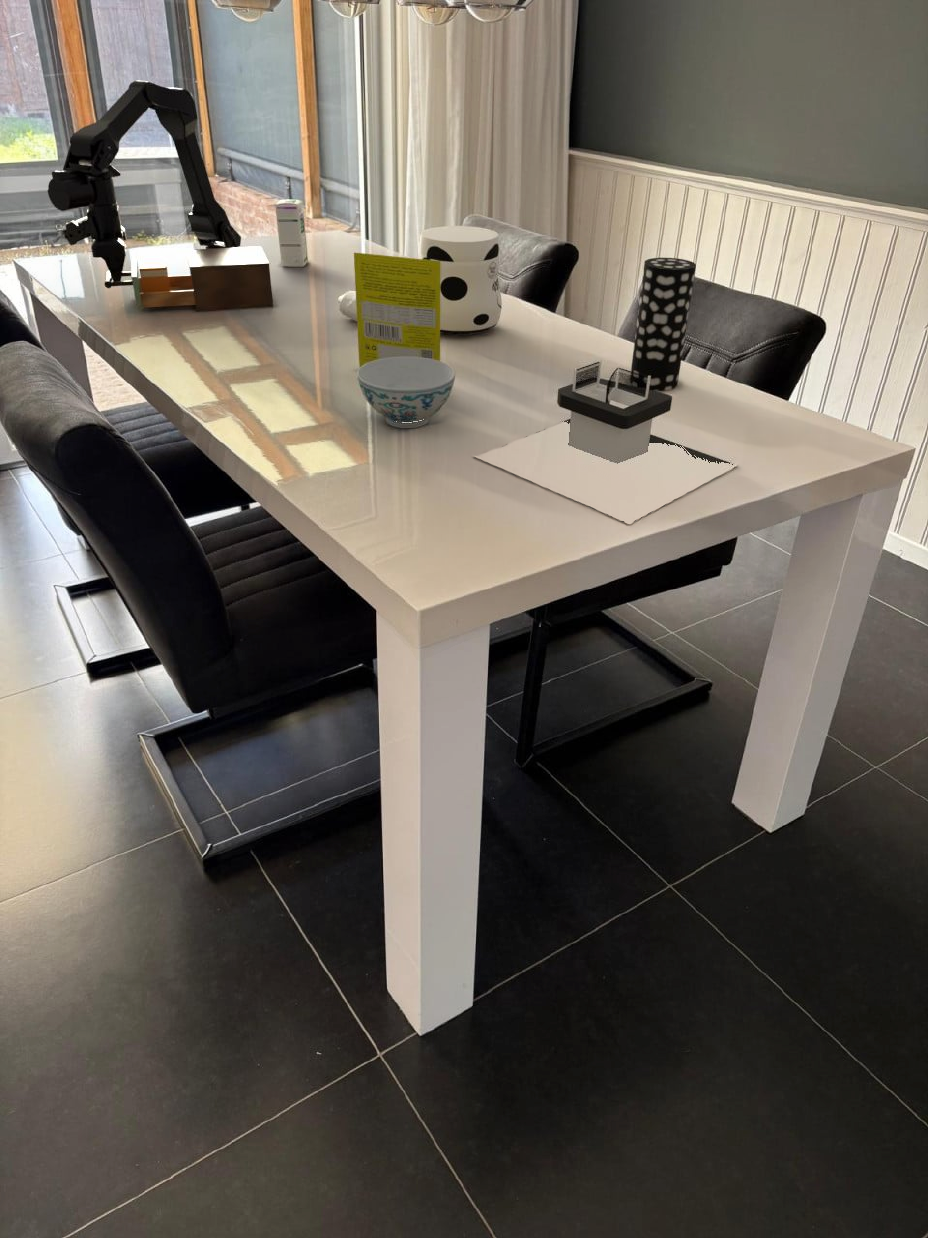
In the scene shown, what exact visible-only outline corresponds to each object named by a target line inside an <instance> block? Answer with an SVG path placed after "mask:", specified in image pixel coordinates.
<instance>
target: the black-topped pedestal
mask: <svg viewBox="0 0 928 1238" xmlns="http://www.w3.org/2000/svg"><path fill="white" fill-rule="evenodd" d="M602 363H603V361H602V360H599V361H597V362H594V363H591V364H588V365H585V366H582V367H578V368H576V367H575V368H573V369H574V370H573V377H572V378H573V381H572V383H571V384H568V385H565V386H562V387H560V388H558V389H557V396H556V397H557V399H556V403H557V406H558V407H559V408H562V409H565V410H567V411H570V418H568V419H566V420H563V421H564V422H567V421H568V422H567V423H568V424H569V423H570V432H569V443H568V445H569V446H572V447H574V448H576V449H579V450H582V451H584V452H587V453H590V454H592V455H595V456H598V457H601V458H603V459H606V460H609V461H610V462H614V463H617V464H618V463H620V462H623V461H626V460H628V459H631V458H634V457H636V456H639V455H642V454H644V453H646V452H648V446H649V443H662V444H664V443H666V444H667V445H668V444H670V445H675V444H676V445H677V446H678V447H680V446H681V447H682V446H683V447H684V448H685V449H686V450H687V451H688V452H689V453H690V454H691V455H692V457H694V458H695V459H696V457H697V458H698V457H699V458H701V459H702V460H704V459H705V461H706V459H707V460H708V462H709V461H710V462H715V463H716V461H717V463H718V464H719V462H720V463H721V462H724V463H729V464H730V463H731V462H730V461H727V460H724V459H721V458H719V457H716V456H713V455H710V454H707V453H704V452H702V451H699V450H697V449H693V448H691V447H687V446H685V445H682V444H679V443H677V442H673V441H672V440H671V441H670V440H668V439H666V438H662V437H660V436H657V435H654V434H652V433H651V432H652V426H653V425H652V424H653V419H655V418H657V417H660V416H661V415H664V414H666V413H669V412H670V411H671V408H672V402H673V396H672V395H670V394H666V393H664V392H662V391H653V390H649V385H650V378H651V376H644V375H641V374H638V373H635V372H631V370H628V369H625V368H622V367H621V366H620V365H619V366H617V368H616V369H615V370H614V371H613V372H612V374H611V375H610V377H609V379H605V378H602V377H601V373H602ZM631 373H634V374H635V375H636V377H634V376H632V375H631ZM638 375H640V376H641V377H642V378H643V379H642V380H641V379H640V378H639V377H638ZM631 376H632V377H633V378H634V380H635V382H636V384H637V385H638V387H637V386H636V384H635V383H634V381H633V379H632V378H631ZM644 377H646V378H647V379H648V380H645V379H644ZM635 378H636V379H635ZM638 378H639V380H640V381H641V383H642V385H643V387H644V388H645V389H644V388H643V387H642V386H641V384H640V382H639V380H638ZM630 379H631V380H630ZM644 380H645V381H646V383H647V385H646V384H645V382H644ZM642 381H643V382H642ZM638 383H639V384H638ZM643 383H644V384H643ZM633 384H634V385H633ZM639 385H640V386H639ZM611 401H612V402H615V403H618V404H621V405H624V406H626V407H624V408H622V407H620V406H616V405H614V404H612V403H610V402H611ZM676 445H675V446H676ZM668 446H669V445H668ZM681 447H680V448H681ZM683 447H682V448H683ZM684 448H683V449H684ZM685 449H684V451H686V450H685ZM687 451H686V453H687ZM687 454H688V453H687ZM688 455H689V454H688ZM694 455H695V456H696V457H695V456H694ZM703 458H704V459H703ZM710 462H709V463H710ZM733 464H734V463H733ZM733 464H732V465H733Z"/></svg>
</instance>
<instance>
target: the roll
mask: <svg viewBox="0 0 928 1238" xmlns="http://www.w3.org/2000/svg"><path fill="white" fill-rule="evenodd" d="M337 302H338V303H339V311H340V313H341V314H343V316H345V317H347V318H349V319H351V320H352V321H355V322H356V323H357V307H356V290H349V291H346V292H345V293H344V294H341V295H340V296H339V297H338V300H337Z"/></svg>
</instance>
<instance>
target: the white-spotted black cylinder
mask: <svg viewBox="0 0 928 1238" xmlns="http://www.w3.org/2000/svg"><path fill="white" fill-rule="evenodd" d="M696 269H697V264H696V263H695V262H694V261H691V260H688V259H684V258H675V257H653V258H648V259H646V260H644V262H643V271H642V279H641V287H640V296H639V303H638V312H637V320H636V327H635V328H636V329H635V336H634V343H633V351H632V360H631V367H630V371H631V372H635V373H638V374H641V375H644V376H651V378H650V385H649V390H653V391H657V392H663V391H664V392H665V391H670V390H673V389H675V388H677V387H678V383H679V377H680V371H681V366H682V358H683V351H684V347H685V345H684V344H685V338H686V333H687V326H688V321H689V313H690V307H691V300H692V294H693V288H694V281H695V275H696ZM631 375H632V376H634V377H636V375H635V374H634V373H631ZM632 376H631V378H632V379H633V381H634V383H635V384H636V382H635V380H634V378H633V377H632ZM638 377H639V378H640V379H641V380H642V379H643V378H642V377H641V376H640V375H638ZM639 378H638V380H639ZM635 379H636V378H635ZM644 379H645V380H648V379H647V378H646V377H644ZM630 380H631V379H630ZM645 380H644V382H645V384H646V385H647V383H646V381H645ZM639 382H640V384H641V386H642V387H643V385H642V383H641V381H640V380H639ZM642 382H643V381H642ZM638 384H639V383H638ZM643 384H644V383H643ZM633 385H634V384H633ZM636 386H637V387H638V385H637V384H636ZM639 386H640V385H639ZM643 388H644V387H643ZM644 389H645V388H644Z"/></svg>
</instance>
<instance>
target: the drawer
mask: <svg viewBox="0 0 928 1238" xmlns="http://www.w3.org/2000/svg"><path fill="white" fill-rule="evenodd" d="M122 277H131V280H121V281H113V279H112V277H111V274H110V272H109V270H107V271H105V275H104V283H103V286H104V287H105V288H107V289H111V288H112V287H124V286H125V287H126V286H129V287H130V286H132V288H133V292H134V298H135V303H136V308H137V310H139V311H140V310H143V309H144V308H145V309H146V308H161V307H162V308H163V307H179V306H196V303H195V296H194V290H193V283H192V276H191V275H190V274H182V275H181V274H180V275H168V278H169V285H170V291H168V292H150V293H143V288H142V282H141V277H140V271H139V264H138V259H137V258H132V259H131V270H130V271H129V270H128V271H122Z"/></svg>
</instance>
